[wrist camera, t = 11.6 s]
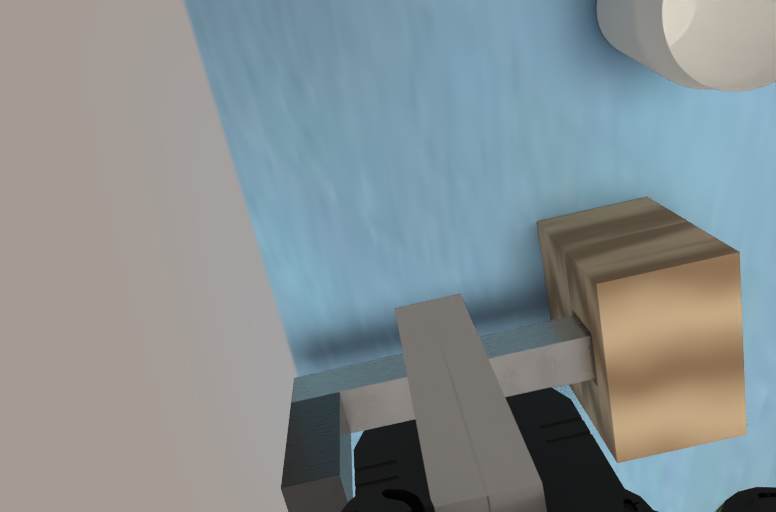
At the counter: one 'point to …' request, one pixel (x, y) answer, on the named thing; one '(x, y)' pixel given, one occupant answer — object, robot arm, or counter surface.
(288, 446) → the shaft
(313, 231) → the counter surface
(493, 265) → the counter surface
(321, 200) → the counter surface
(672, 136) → the counter surface
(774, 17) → the cup
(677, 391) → the block
